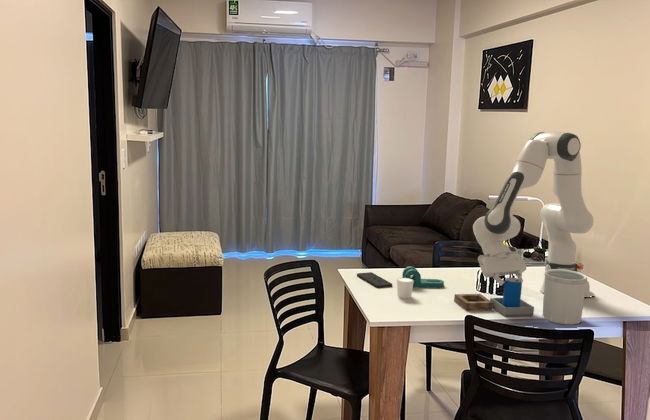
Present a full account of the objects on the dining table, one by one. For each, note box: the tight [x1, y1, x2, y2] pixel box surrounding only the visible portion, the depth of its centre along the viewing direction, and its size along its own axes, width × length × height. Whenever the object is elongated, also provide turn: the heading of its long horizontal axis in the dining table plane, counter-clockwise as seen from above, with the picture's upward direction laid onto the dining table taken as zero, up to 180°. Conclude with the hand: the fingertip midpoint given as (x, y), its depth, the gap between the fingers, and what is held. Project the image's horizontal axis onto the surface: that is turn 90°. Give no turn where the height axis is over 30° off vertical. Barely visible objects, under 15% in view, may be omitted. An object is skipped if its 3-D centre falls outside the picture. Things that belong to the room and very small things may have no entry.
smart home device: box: [356, 272, 393, 289], centre depth 258 cm, size 8×2×20 cm
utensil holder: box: [542, 269, 588, 325], centre depth 217 cm, size 15×15×18 cm
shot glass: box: [396, 277, 414, 299], centre depth 238 cm, size 7×7×7 cm
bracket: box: [401, 265, 445, 289], centre depth 254 cm, size 18×7×8 cm, turn 93°
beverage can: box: [502, 277, 523, 307], centre depth 224 cm, size 6×6×12 cm
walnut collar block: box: [453, 293, 494, 312], centre depth 229 cm, size 11×11×3 cm
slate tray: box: [489, 297, 535, 318], centre depth 225 cm, size 12×12×4 cm
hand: (511, 283), depth 224 cm, fingers open, 8 cm apart
